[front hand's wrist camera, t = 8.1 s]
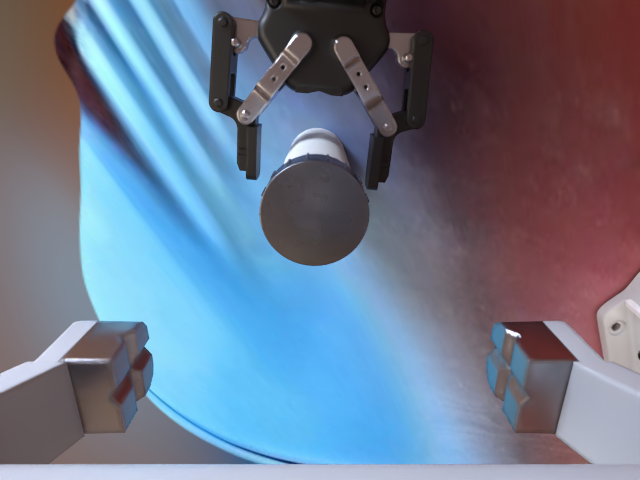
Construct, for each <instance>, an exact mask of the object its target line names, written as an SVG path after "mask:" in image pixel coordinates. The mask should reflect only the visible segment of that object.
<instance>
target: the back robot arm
mask: <svg viewBox="0 0 640 480" xmlns="http://www.w3.org/2000/svg"><path fill="white" fill-rule="evenodd" d="M386 1H387V0H266V5H265V9H264V12H263V15H262V17H261V18H260V20H259V21H255V20H249V19H242V18H236V17H232V16H231V15H230V14H228V13H227V12H224V11H221V12H218V13H216V14H215V16H214V18H213V32H212V52H211V72H210V92H209V105H210V107H211V108H212V109H213V110H214V111H216V112H221V113H223V114H225V115H227V116H229V117H231V118H233V119H234V120H235V122H236V124H237V128H238V133H237V164H238V167H239V169H240V170H241V171H246V179H250V180H257V179H258V177H259V175H260V157H261V126H262V124H258V117H259V116H260V115H261V114H262V113H263V111H264V110H265V109H266V108H267V106H268V105H269V104H270V103H271V102H272V100H273V99H274V98H275V97H276V96H277V95H278V94H279V92H280V91H281V90H282V89H283V87H284V86H285V85H286V86H287V87H289V88H290V89H292V90H293V91H295V92H299V93H311V92H316V91H321V92H324V93H327V94H329V95H334V96H343V95H346V94H349V93H351V92H352V91H354V92H355V94H356V95H357V97H358V99H359V101H360V102H361V104H362V106H363V107H364V109H365V110H366V112H367V114H368V116H369V117H370V119H371V121H372V122H373V124H374V126H375V128H374V134H371V135H370V143H369V151H368V160H367V168H366V177H365V186H366V188H367V189H368V190H377V188H378V182H384V183H385V181H386V179H387V177H388V175H389V167H390V161H391V153H392V146H393V140H394V138H395V136H396V135H397V134H399V133H400V132H403V131H407V130H410V129H419V128H421V127H422V126H423V125H424V123H425V119H426V109H427V99H428V89H429V79H430V69H431V59H432V49H433V35H432V34H431V33H430V32H429V31H427V30H422V31H418V32H416V33H389V31H388V28H387V25H386V21H385V9H386ZM254 38H258V40H259V42H260V44H261V45H262V47H263V49H264V50H265V52H266V54H267V55H268V57H269V59H270V60H271V62H272V64H273V65H272V66H271V67H270V68H269V70H268V71H267V72H266V73H265V75H264V76H263V77H262V78H261V80H260V81H259V82H258V83H257V85H256V86H255V88H254V90H253V91H252V92H251V94H250V95H249V96H248V97H247V99H246V100H245V101H244V100H241V99H239V98H237V97H235V87H236V73H237V58H238V54H243V53H245V52H246V51H247V49H248V46H249V43H250V41H251V40H252V39H254ZM388 49H389V50H391V51H393V53H394V54H395V57H396V63H397V65H398V66H399V67H401V68H405V73H404V85H403V98H402V110H401V111H399V112H395V113H392V114H391V112H390V111H389V109H388V107H387V105H386V103H385V102H384V100H383V97H382V95H381V93H380V91H379V89H378V88H377V86H376V84H375V82H374V80H373V79H372V77H371V75H370V73H369V72H370V71H371V70H372V69H373V67H374V66H375V65H376V64H377V63H378V61H379V60H380V59H381V58H382V57H383V55H384V54H385V53H386V52H387V50H388Z"/></svg>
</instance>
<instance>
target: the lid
mask: <svg viewBox="0 0 640 480" xmlns="http://www.w3.org/2000/svg"><path fill="white" fill-rule="evenodd" d="M261 196H262V199H261V204H260V213H259V215H260V223H261V227H262V230H263V232H264V235H265V237H266V238H267V240H268V242H269V243H270V244H271V246H272V247H273V248H274V249H275V250H276V251H277V252H278V253H280V254H281V255H282V256H284V257H285V258H287V259H289V260H291V261H293V262H296V263H299V264H303V265H310V266H320V265H327V264H330V263H334V262H336V261H338V260H341V259H342V258H344V257H346V256H347V255H348V254H350V253H351V252H352V251H353V250H354V249H355V248H356V247H357V246H358V244H359V243H360V242H361V240H362V238H363V237H364V235H365V232H366V230H367V226H368V222H369V206H368V203H369V199H368V197H367V194H366V193H365V192H364V189H363V187H362V182H361V179H360V177H359V176H357V175H356V174H355V173H354V171H353V170H352V169H351V168H350V167H349V166H347V163H346V162H344V163H343V162H342V161H340V160H338V159H336V158H334V157H331V156H329V154H327V155H323V154H309V153H307V155H302V156H298V157H295V158H293V159H288V161H287V162H286V163H285V164H283V165H282V166H281V167H280V168H279V169H278V170H277V171H274V172H273V174H272V176H271V179H270V181H269V183H268V185H267V187H265V189H264V191H263V192H262V195H261Z"/></svg>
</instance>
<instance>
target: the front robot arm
mask: <svg viewBox="0 0 640 480" xmlns="http://www.w3.org/2000/svg"><path fill="white" fill-rule="evenodd" d="M597 323H598V329H599V335H600V341H601V346H602V352H603V358H604V359H603V358H602V357H600V356H599V355H598V354H597V353H596V352H595V351H594V350H593V349H592V348H591V347H590V346H589V345H588V344H587V343H586V342H585V341H584V340H583V339H582V338H581V337H580V336H579V335H578V334H577V333H576V332H575V331H574V330H573V329H572V328H571V327H570V326H569V325H568V324H567V323H566V322H563V321H535V322H498V323H495V324H494V327H493V329H492V334H491V339H492V341H493V343H494V344H495V346H496V347H495V348H494V349H493V350H492V351H491V352H490V353H489V354H488V359H487V378H488V382H489V385H490V388H491V390H492V392H493V394H494V395H495V396H496V397H498V398H499V399H501V400H502V401H504V403H503V409H502V410H503V412H504V414H505V415H506V417H507V419H508V421H509V423H510V424H511V426H512V428H513V430H514V432H515V433H547V434H555V436H556V437H558V438H559V439H560V440H562V441H563V442H564V443H565V444H567V445H568V446H569V447H570V448H572V449H573V450H574V451H576V452H577V453H578V454H579V455H581V456H582V457H583V458H584V459H586V460H587V461H588V462H590V463H591V464H49V463H50V462H52V461H53V460H54V459H56V458H57V457H58V456H59V455H61V454H62V453H63V452H65V451H66V450H67V449H68V448H70V447H71V446H72V445H74V444H75V443H76V442H77V441H79V440H80V439H81V438H82V437H84V436H85V435H84V434H92V433H125V432H126V430H127V428H128V426H129V424H130V423H131V421H132V419H133V417H134V415H135V414H136V412H137V410H138V409H137V403H136V401H138V400H139V399H141V398H142V397H144V396H145V395H146V394H147V392H148V390H149V388H150V385H151V381H152V377H153V358H152V354H151V353H150V352H149V351H148V350H147V349H146V348H145V347H144V346H145V344H146V343H147V341H148V339H149V335H148V330H147V326H146V325H145V324H144V323H143V322H125V321H78V322H74V323H73V324H72V325H71V326H70V327H69V328H68V329H67V330H66V331H65V332H64V333H63V334H62V335H61V336H60V337H59V338H58V339H57V340H56V341H55V342H54V343H53V344H52V345H51V346H50V347H49V348H48V349H47V350H46V351H45V352H44V353H43V354H42V355H41V356H40V357H39V358H38V359H37V360H35V361H34V362H25V363H23V364H21V365H19V366H16V367H14V368H12V369H10V370H7V371H5V372H3V373H1V374H0V480H640V272H639V273H638V274H637V275H636V276H635V278H634V279H633V280H632V282H631V283H630V284H629V285H628V286H627V287H626V288H625V289H624V290H623V291H622V292H620V293H619V294H617V295H616V296H614V297H613V298H611V299H610V300H609V301H607V302H606V303H605V304H603V305H602V306H601V307H600V308H599V310H598V312H597ZM615 323H616V324H615ZM613 324H615V325H614V326H612V325H613Z"/></svg>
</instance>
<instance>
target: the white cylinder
mask: <svg viewBox="0 0 640 480" xmlns="http://www.w3.org/2000/svg"><path fill="white" fill-rule="evenodd" d="M307 153H309V154H323V155H327V154H329V156H331V157H334V158H336V159H338V160H340V161H342V162H343V163H344V162H346V163H347V166H349V167H350V165H349V162H348V159H347V156H346V153H345V150H344V147H343V145H342V143H341V141H340V139H339V138H338V137H337V136H336V135H335V134H334V133H332V132H331V131H329V130H326V129H322V128H312V129H308V130H306V131H304V132H302V133H301V134H300V135H298V136H297V138H296V139H295V140H294V142H293V144H292V146H291V148H290V150H289V153H288V155H287V157H286V159H285V161H284V164H285V163H286V162H287V161H288V159H293V158H295V157H298V156H302V155H307Z"/></svg>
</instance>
